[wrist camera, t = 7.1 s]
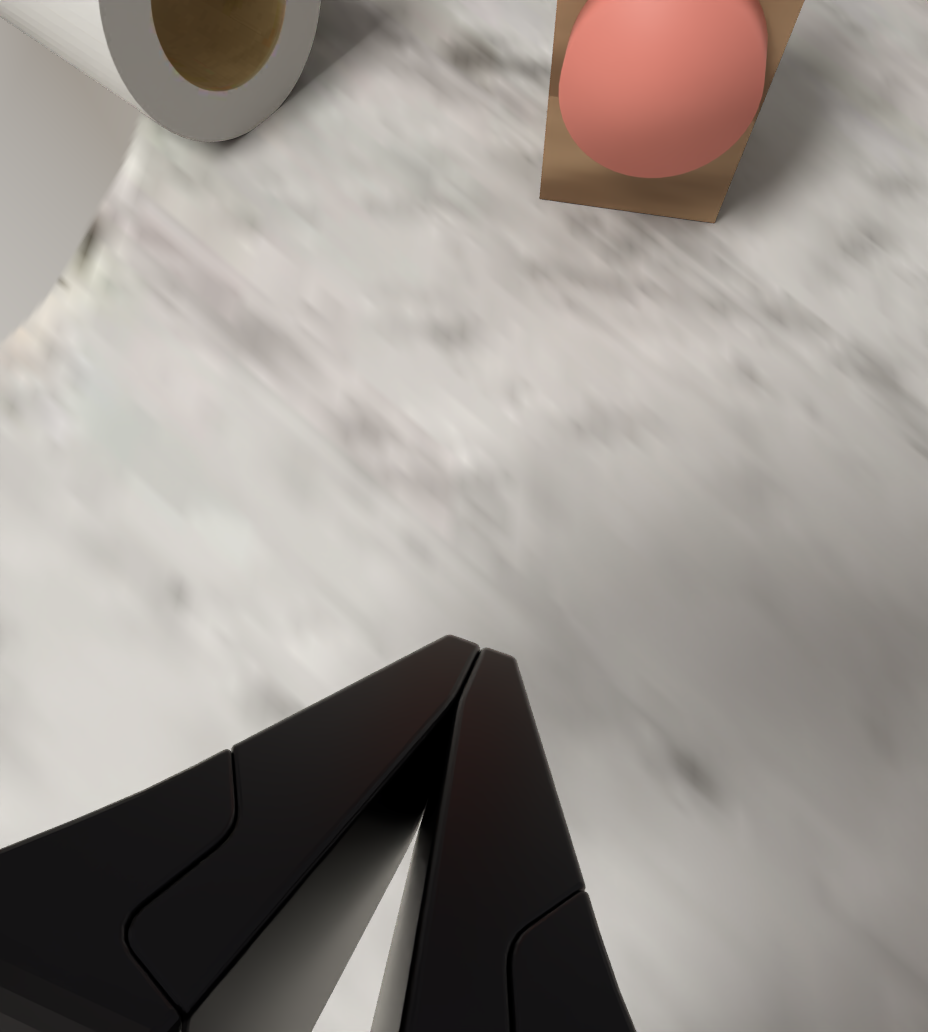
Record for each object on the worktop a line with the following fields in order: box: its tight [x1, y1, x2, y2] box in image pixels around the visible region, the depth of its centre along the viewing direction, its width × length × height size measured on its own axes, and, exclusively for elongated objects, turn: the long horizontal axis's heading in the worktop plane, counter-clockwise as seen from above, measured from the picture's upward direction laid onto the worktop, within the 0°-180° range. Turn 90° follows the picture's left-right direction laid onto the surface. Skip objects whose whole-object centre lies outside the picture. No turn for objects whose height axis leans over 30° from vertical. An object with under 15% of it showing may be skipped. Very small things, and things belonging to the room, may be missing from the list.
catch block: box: [540, 0, 804, 223], centre depth 24 cm, size 6×7×11 cm
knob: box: [559, 0, 768, 178], centre depth 22 cm, size 8×6×6 cm
